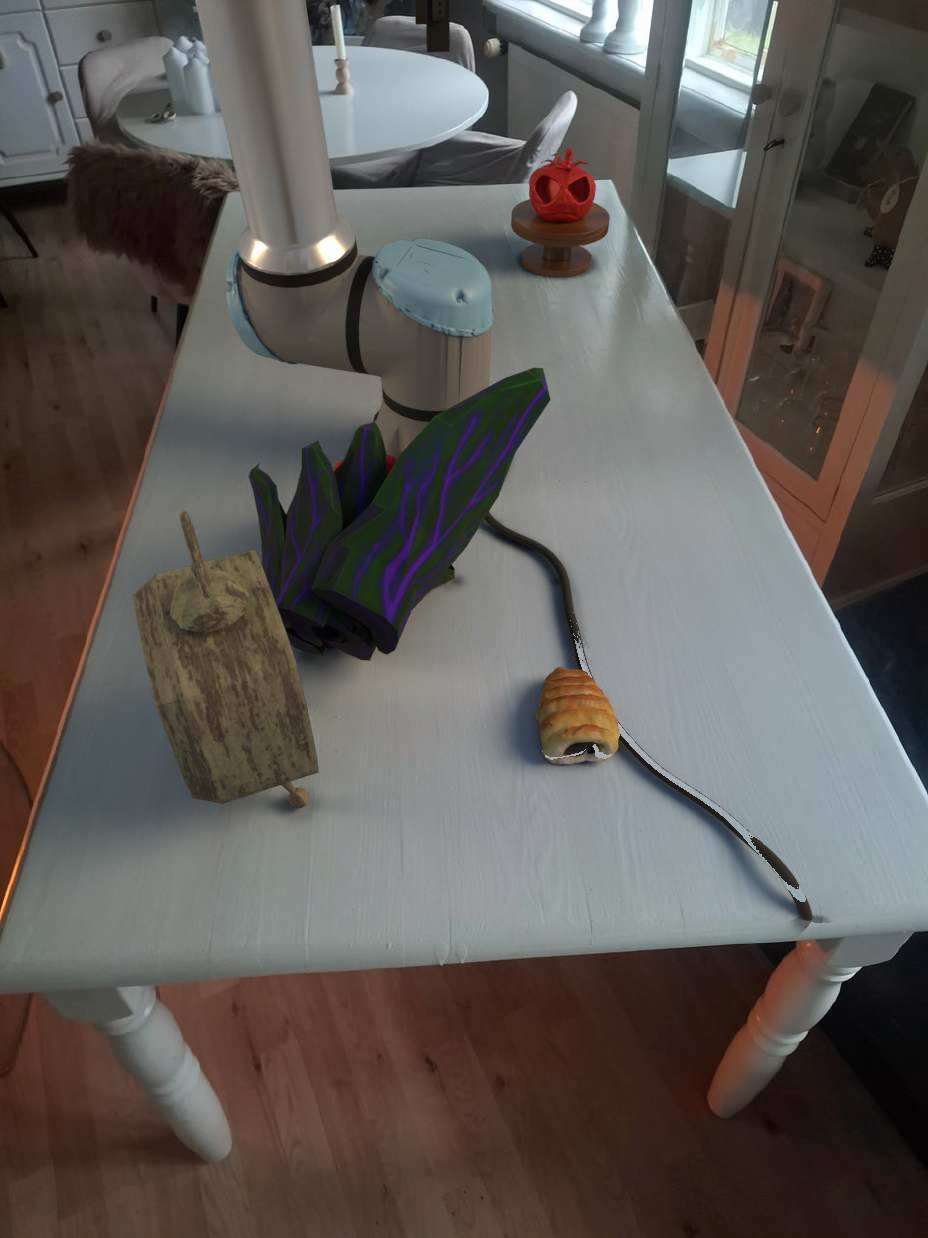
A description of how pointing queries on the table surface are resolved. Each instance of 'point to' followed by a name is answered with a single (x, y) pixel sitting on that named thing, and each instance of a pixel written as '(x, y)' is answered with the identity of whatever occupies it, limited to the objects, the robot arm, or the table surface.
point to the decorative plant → (388, 519)
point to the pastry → (575, 718)
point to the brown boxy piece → (225, 677)
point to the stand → (558, 240)
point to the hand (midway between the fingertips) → (431, 37)
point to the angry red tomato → (562, 189)
